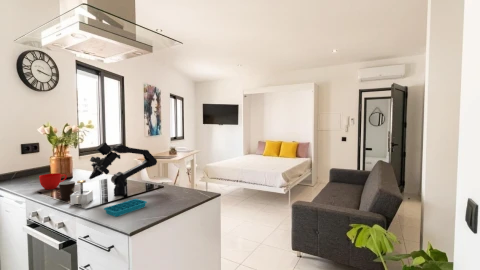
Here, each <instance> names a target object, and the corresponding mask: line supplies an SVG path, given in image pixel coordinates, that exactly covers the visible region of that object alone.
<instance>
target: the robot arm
mask: <svg viewBox="0 0 480 270" xmlns="http://www.w3.org/2000/svg"><path fill="white" fill-rule="evenodd" d="M95 151H97V152H98V153H99V154H101V155H102V156H104V157H102V158H101V157H99V156H96V157H95V156H91V158H90V160H89V162H92V163H91V164H90V165H91V166H92V169H93V170H92V172H91V174H90V175H89V177H88V179H89V180H92V179H95V178H96V177H99V176H102V175H103V174H105V175H106V176H107V175H109V173H110V169H108V168H109V166H112V165H113V164H112V163H113V162H115V160H121V155H120V154H135V155H142V156H143V158H144V160H143V161H142V162H141V163H139V164H138V165H136V166H134V167H132V168H130V169H128V170H126V171H123V172H122V171H118V172H116V173H114V174H113V175H112V176H111V178H110V181H111V183H113V185H114V188H113V196H114V197H116V196H117V197H121V196H125V195H126V194H127V184H128V183H127V182H126V181H127V179H128V178H130V177H132V176H134V175H136V174H137V173H140V172H141V171H143V170H145V169H146V168H152V167H154V166H156V165H157V163H158V160H157V158H156V157H154V156H153V154H152V153H151V152H150V150H149V149H142V148H135V147H129V146H128V145H124V144H115V145H114V146H110V145H109V144H108V143H107V142H105V141H104V142H102V143H101V144H99V145H98V146H96V149H95Z"/></svg>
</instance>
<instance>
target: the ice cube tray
mask: <svg viewBox="0 0 480 270" xmlns="http://www.w3.org/2000/svg"><path fill="white" fill-rule="evenodd" d="M147 203H148V201H146V200H142V199H139V198H134V199H129V200H126V201H123V202H120V203H117V204H114V205H111V206H110V205H109V206H106V207H104V208H103V210H104V211H105V214H107V215H108V216H109V215H110V216H112V217H115V218H117V217H120V216H122V215H125V214H129V213H132V212H134V211H137V210H140V209H142V208H145V207H146V204H147Z"/></svg>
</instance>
